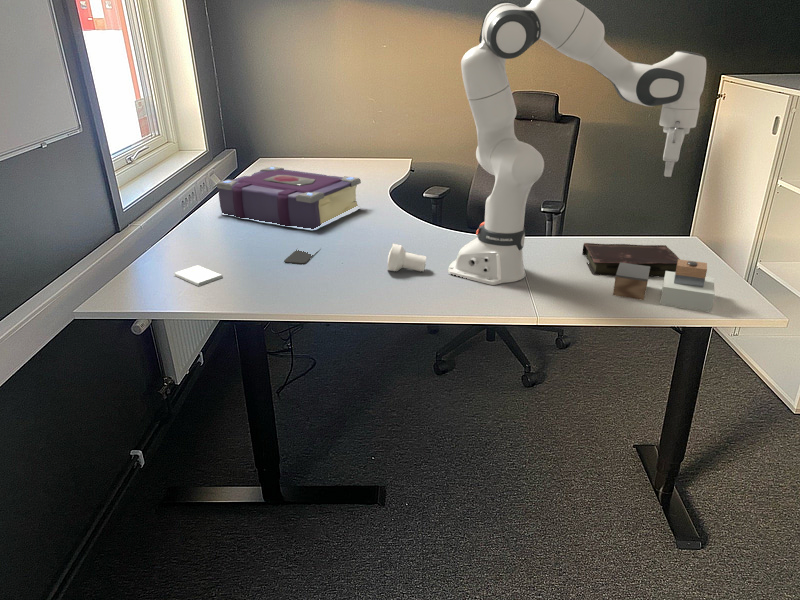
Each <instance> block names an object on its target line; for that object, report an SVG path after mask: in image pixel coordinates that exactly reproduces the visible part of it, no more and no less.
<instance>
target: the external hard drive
mask: <svg viewBox="0 0 800 600" xmlns="http://www.w3.org/2000/svg"><path fill="white" fill-rule="evenodd" d="M173 274H174V276H175V277H177V278H179V279H181V280H183V281H186V282H189V283H191V284H192V285H194V286H197V287H201V286H203V285H205V284H209V283H212V282H215V281H217V280H220V279H223V278H224V276H223V274H221V273H218V272H215V271H213V270H210V269H209V268H205V267H203V266H201V265H199V264H198V265H193V266H191V267H188V268H185V269H182V270H179V271H175V272H174V273H173Z"/></svg>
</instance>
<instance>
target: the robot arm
mask: <svg viewBox="0 0 800 600" xmlns="http://www.w3.org/2000/svg"><path fill="white" fill-rule="evenodd" d="M605 33H606V32H605V26H604V23H603V22H602V21H601V20H600V19H599V17H597V15H596V14H595V13H593V12H592V11H591V10H590V9H589V8H587V7H586V6H585V5H583V4H582V3H580V2H579V1H577V0H531V1H530V3H528V4H527V5H526V6H522V7H520V6H519V5H517V4H516V3H514V2H511V1H500V2H498V3H495V4H494V5H492V6H491V7H489V9H487V11H486V13H485V15H484V17H483V20H482V24H481V28H480V34H479V39H478V41H479V44H478V45H475V46H473V47H472V48H470V49H468V50H467V51H466V52H465V54H463V56H462V58H461V61H460V68H461V76H462V81H463V82H462V83H463V86H464V91H465V95H466V99H467V101H468V104H469V108H470V111H471V114H472V117H473V121H474V123H475V129H476V137H477V147H476V150H475V157H476V161H477V162H478V164H479V165H480V167H481V168H482V169H484V171H486V173H489V174H491V175H492V176H494V177H495V178H494V179H495V181H494V184H493V189H492V191H491V193H490V195H489V196H487V198H486V200H485V207H484V209H485V210H484V221H483V222H481V223H480V224H479V227H478V228H477V230H476V231H475V232H476V233H475V235H476V237H475V238H474V239H472V240H471V241H469V242H467V243H466V244H464V245H463V246H462V247H461V248H460V250H459V252H458V253H457V256H456V259H455V260H453V261H452V262H451V263H450V264H449V266H448V270H447V271H448V274H449V273H450V274H449V275H451V274H453V275H452V276H454V275H456V276H455V277H458V276H460V277H459V278H462V277H463V279H466V278H467V280H470V281H475V282H479V283H483V284H487V285H491V286H495V285H500V284H504V283H505V284H506V283H514V282H518V281H520V280H523V279H524V278H525V277H526V270H525V266H524V258H523V255H524V253H523V248H524V245H525V240H526V239H525V237H526V233H525V232H526V228H525V227H524V225H525V214H526V205H527V200H528V197H529V194H530V192H531V189H532V187H533V185H534V183H536V182H538V180H539V179H540V178H541V177H542V174H543V172H544V169H545V161H544V158H543V155H542V153H540V152H539V151H538V150H537V149H536V148H535V147H534V146H532V145H531V144H529V143H526V142H525V141H521V140H519V139H518V138H517V136H516V134H515V124H514V123H515V118H516V117H517V111H518V109H517V107H516V104H515V100H514V97H513V96H514V95H513V93H512V92H513V91H512V89H511V85H510V82H509V78H508V74H507V70H506V61H507V60H511V59H512V60H513V59H516V58H517V57H520V56H521V55H523V54H524V53H525V52H526V51H527V50H528V49H530V48H531V47H533V45H534V44H536V42H538V41H539V40H541V41H543V42H544V43H547V44H548V45H549V46H551V47H552V48H553V49H555V50H556V51H557V52H559V53H560V54H562V55H564V56H566V57H568V58H571V59H572V60H574V61H578V62H581V63H584V64H586V65H589V66H590V67H592V68H593V69H594V70H595V71H597V72H598V73H599V74H600V75H602V76H603V77H604V78H606V79H607V80H609V81H610V83H611V84H612V86H613V88H614V90H615V92H616V93H617V95H618V96H619V98H620V99H621V100H623V101H625V102H627V103H634V104H638V105H640V106H645V107H649V108H650V107H657V106H662V107H661V111H660V116H659V117H660V118H659V122H658V123H659V124H658V125H659V126H661V127H663V128H662V129H663V130H662V132H663V133H664V134H665V133H666V138H665V144H664V145H665V146H664V150H663V156H662V161H663V162H665V163H664V164H665V166H664V167H665V168H664V173H663V176H664V177H666V178H667V177H668V178H671V177H672V174H673V170H674V166H675V164H676V163H677V162H678V161H679V159H680V153H681V148H682V144H683V143H684V139H685V136H686V135H689V133H690V132H691V131H690V130H691V129H694V128H696V127H697V123H698V117H699V113H700V107H701V105H700V104H701V103H700V100H701V99H700V98H701V96H702V94H703V91H704V88H705V87H704V86H705V82H706V76H707V75H706V74H707V58H706V57H705V56H704V55H702V54H701V53H697V52H692V51H687V50H677V51H675V52H674V53H673V54H672V55H670V56H669V57H667V58H665V59H663V60H662V61H659V62H657V63H656V62H655V63H652V64H647V63H643V62H640V61H639V62H638V61H631V60H629V59H627V58H626V57H624V56H623V55H622V54H620V53H619V52H618V51H616V50H615V49H614V48H612V47H611V46H610V45H609V44H608V43H607V42H606V39H605Z"/></svg>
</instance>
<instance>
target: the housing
mask: <svg viewBox="0 0 800 600" xmlns="http://www.w3.org/2000/svg"><path fill="white" fill-rule="evenodd" d="M707 272H708V263H707V262H701V261H693V260H687V259H680V258H679V259H678V261H677V266H676V271H675V276H674V284H681V285H688V286H695V287H702V288H703V286H704V281H705V277H706V276H707Z"/></svg>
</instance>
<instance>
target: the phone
mask: <svg viewBox="0 0 800 600" xmlns="http://www.w3.org/2000/svg"><path fill="white" fill-rule="evenodd" d="M295 250H296V251H295ZM295 250H294V251H293V252H292V253H291V254H290V255H289V256H287V257H286V258H285V259H284V261H283V263H284V262H285V263H284V264H289V263H292V264H293V265H302V264H303V265H306V264H307V263H309V260H310V258H311V257H312V256H313V255H312V256H311V254H308V252H307V253H306V252H304V251H303V252H302V251H299V250H298V251H297V249H295ZM310 261H311V260H310ZM292 264H291V265H292Z"/></svg>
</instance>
